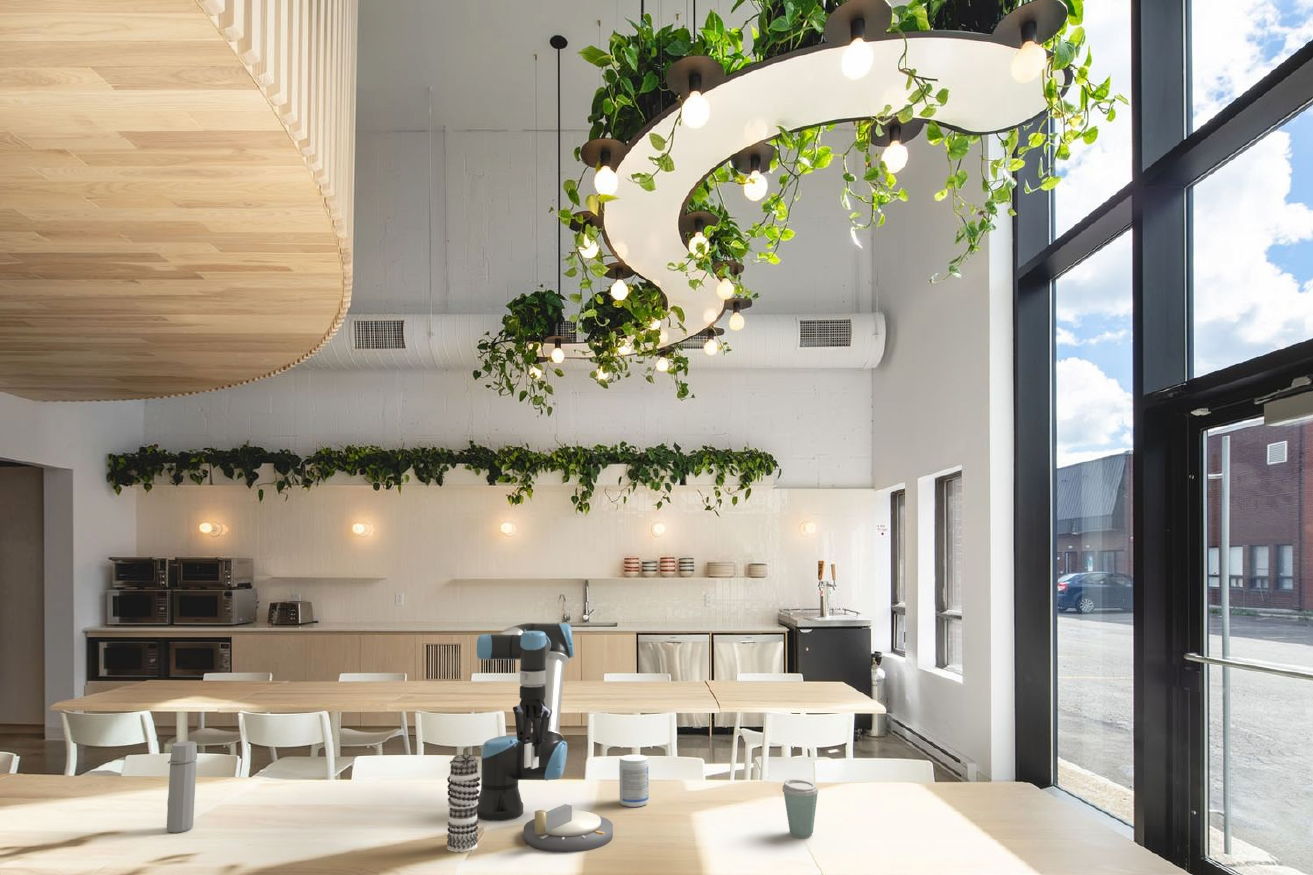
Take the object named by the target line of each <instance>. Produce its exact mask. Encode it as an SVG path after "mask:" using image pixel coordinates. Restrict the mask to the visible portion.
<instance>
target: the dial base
mask: <svg viewBox="0 0 1313 875" xmlns="http://www.w3.org/2000/svg"><path fill="white" fill-rule="evenodd" d="M598 816H599V817H600V818H601V826H600V828H599V829H598V830H596V831H594V832H592V833H588V834H584V835H578V836H553V835H548V834H535V818H533V819H531V820H529V821H527V822H526V823H525V824H524V826H523V837H522V838H524V839H523V842H524V843H525V844H526V845H527V846H528V845H529V846H528V847H531V848H533V849H535V850H539V851H543V852H551V853H577V852H579V853H580V852H585V851H590V850H595V849H599V848H601V847H604V846H605V845H607V844H609V843H610V842H611V841H613V838H614V836H613V834H614V833H613V830H614V824H613V823H612V821H611V820H609V819H608V818H606V817H603V816H601V815H598ZM612 837H613V838H612Z"/></svg>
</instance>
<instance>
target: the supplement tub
mask: <svg viewBox="0 0 1313 875" xmlns="http://www.w3.org/2000/svg"><path fill="white" fill-rule="evenodd" d="M618 766H619V768H618V770H619V803H620V804H621V805H622V806H624V807H630V808H637V807H643V806H645V805H647V804H649V802H650V801H649V798H650V797H649V792H650V791H649V759H648V756H646V755H644V754H626V755H622V756H620V757H619V765H618Z"/></svg>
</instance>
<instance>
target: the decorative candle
mask: <svg viewBox="0 0 1313 875" xmlns="http://www.w3.org/2000/svg"><path fill="white" fill-rule="evenodd" d="M478 763H479V759H476V757H475V755H473V754H470V753H469V754H468V753H467V754H466V753H465V754H464V753H463V754H457V755H455V756H454V757H453V759H452V760H450V761H449V764H450V773H449V775H448V777H447V780H446V781H447V782H448V784H447V789H448V790H447V795H448V796H449V797H448V798H447V801H448V804H447V806H448V807H449V814H448V822H447V832H448V834H446V837H447V841H446V843H447V846H446V849H447V850H448V851H449V850H451V851H460V852H459V853H464V852H463V851H468V852H470V851H469V850H472V851H475V850H476V849H477V848H478V842H479V840H478V837H479V836H478V835H479V833H478V829H479V826H478V823H479V820H478V817H477V812H476V811H477V805H478V799H479V795H478V794H480V790H479V789H477V788H478V787H481V783H480V782H479V781H481V776H480V777H479V771H478ZM451 851H450V852H451Z"/></svg>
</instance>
